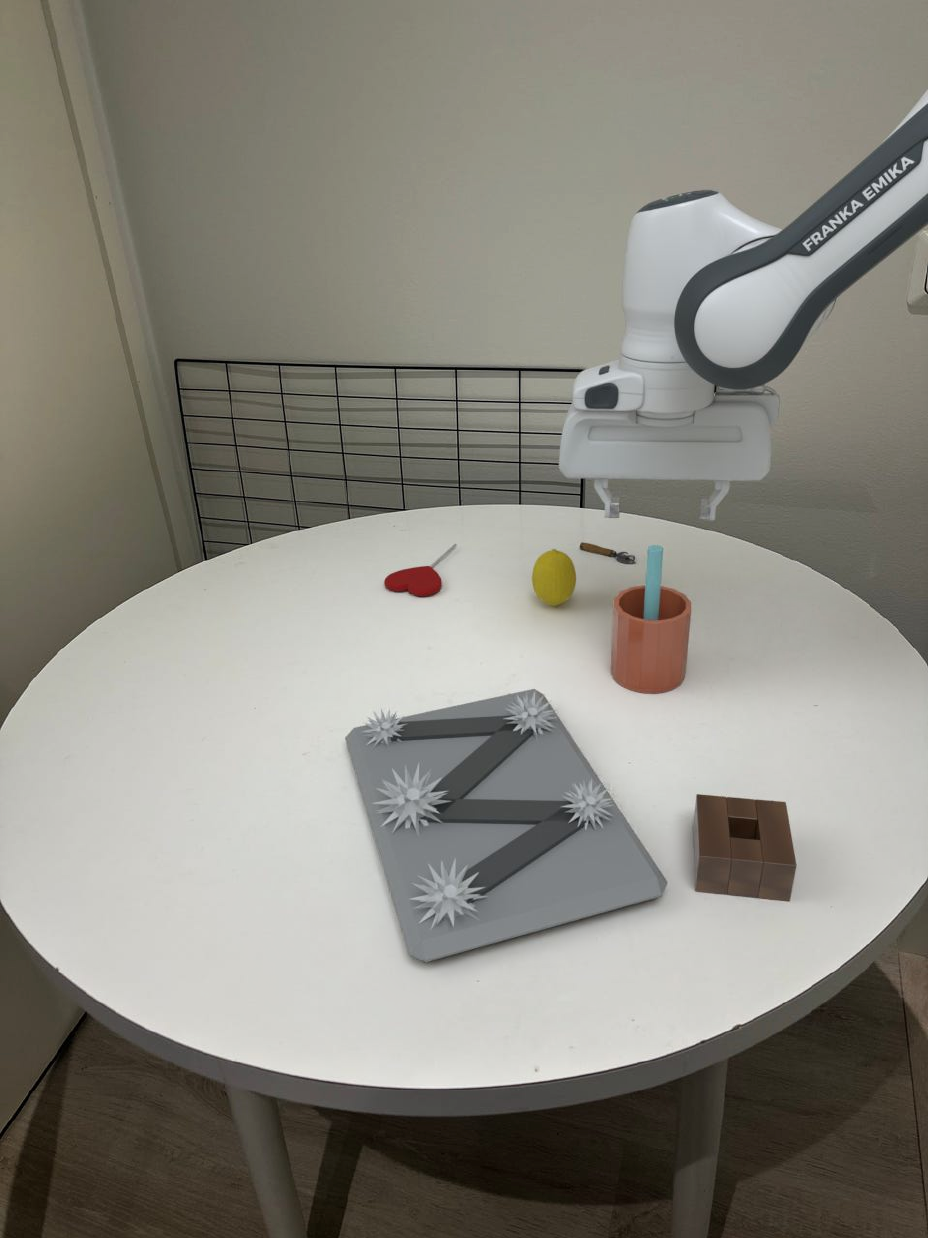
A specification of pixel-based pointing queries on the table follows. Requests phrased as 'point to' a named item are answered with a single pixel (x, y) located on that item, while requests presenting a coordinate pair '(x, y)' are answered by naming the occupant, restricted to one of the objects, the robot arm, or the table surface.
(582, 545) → the can opener
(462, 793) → the decorative plate
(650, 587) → the straw
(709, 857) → the holder
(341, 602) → the table surface
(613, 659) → the cup
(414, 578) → the lollipop
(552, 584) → the lemon
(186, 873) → the table surface
